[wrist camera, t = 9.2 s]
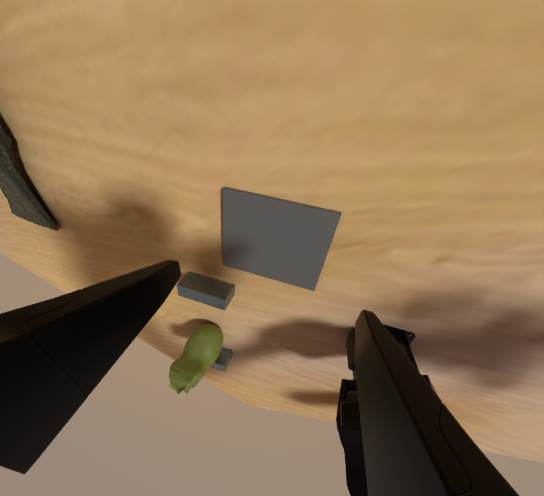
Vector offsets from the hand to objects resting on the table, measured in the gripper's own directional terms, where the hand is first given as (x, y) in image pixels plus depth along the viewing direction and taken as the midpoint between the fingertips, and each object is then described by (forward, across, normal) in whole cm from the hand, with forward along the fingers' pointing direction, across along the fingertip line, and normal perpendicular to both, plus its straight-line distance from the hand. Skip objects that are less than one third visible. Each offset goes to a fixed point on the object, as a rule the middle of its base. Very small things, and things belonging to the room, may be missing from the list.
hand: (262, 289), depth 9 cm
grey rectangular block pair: (+12, +11, +22) cm, 28 cm away
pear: (+12, +11, +25) cm, 30 cm away
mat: (+12, +2, +4) cm, 13 cm away
